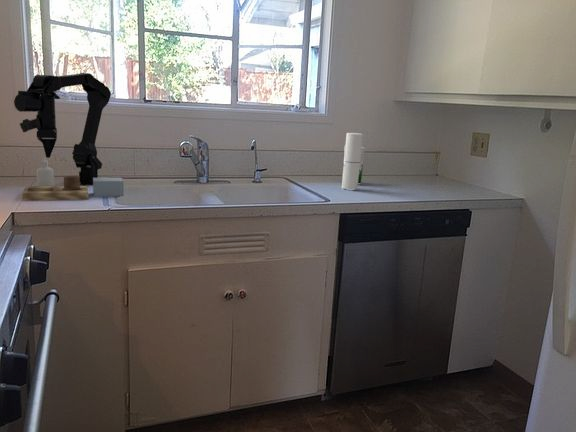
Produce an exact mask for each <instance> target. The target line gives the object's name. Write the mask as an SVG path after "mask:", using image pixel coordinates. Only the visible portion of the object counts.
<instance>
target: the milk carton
mask: <svg viewBox="0 0 576 432" xmlns="http://www.w3.org/2000/svg"><path fill="white" fill-rule="evenodd" d="M343 146H344V150H343V151H344V152H343V153H344V154H343V155H344V156H345V145H343ZM365 151H366V147H364V146H362V148H361V158H360V168H359V178H358V183H362V177H363V168H364V167H363V166H364V158H365V157H364V156H365ZM344 156H343V157H344ZM343 167H344V163H343V165H342V168H343ZM341 178H343V174H342V176H341Z"/></svg>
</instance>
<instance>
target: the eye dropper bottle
mask: <svg viewBox="0 0 576 432" xmlns="http://www.w3.org/2000/svg"><path fill="white" fill-rule="evenodd" d="M49 166H50V165H49V161H48V160H47V157H46V156H43V157H42V160H40V167H38V168H37V169H36V186H55V174H54V173H55V171H54V169H53V168H52V167H49Z"/></svg>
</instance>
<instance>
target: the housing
mask: <svg viewBox="0 0 576 432" xmlns="http://www.w3.org/2000/svg"><path fill="white" fill-rule="evenodd" d="M92 187H93V188H92V189H93V190H92V193H93V197H94V198H95V197H99V198H102V197H107V198H108V197H124V196H125V193H124V188H125V187H124V179H123V178H122V177H98V178H93V185H92Z"/></svg>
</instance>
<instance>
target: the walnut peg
mask: <svg viewBox="0 0 576 432" xmlns="http://www.w3.org/2000/svg"><path fill="white" fill-rule="evenodd" d="M63 186H64V191H69V190H80V186H81V183H80V176H79V175H63Z"/></svg>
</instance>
